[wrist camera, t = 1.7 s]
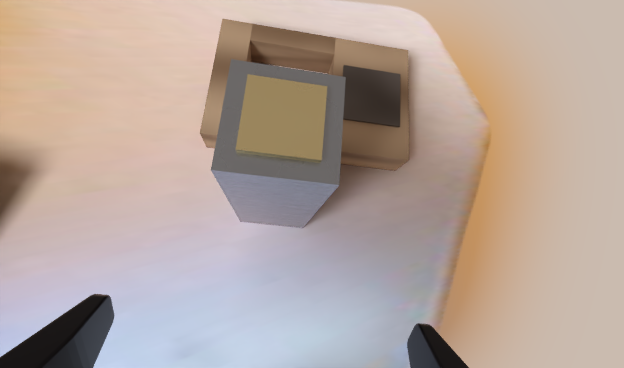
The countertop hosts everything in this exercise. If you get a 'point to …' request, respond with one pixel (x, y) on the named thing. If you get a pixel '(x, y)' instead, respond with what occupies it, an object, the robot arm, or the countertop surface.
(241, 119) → the grey tall block
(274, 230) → the countertop surface
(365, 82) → the plate with square hole
